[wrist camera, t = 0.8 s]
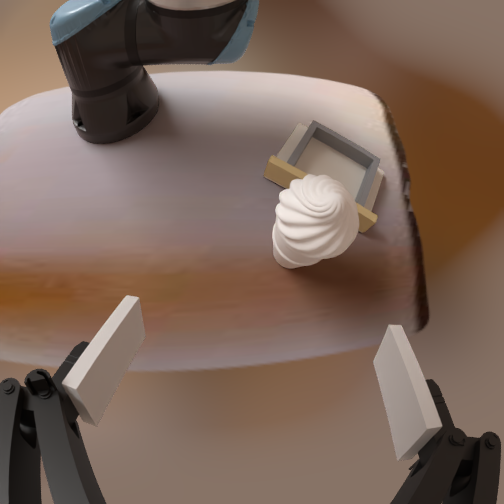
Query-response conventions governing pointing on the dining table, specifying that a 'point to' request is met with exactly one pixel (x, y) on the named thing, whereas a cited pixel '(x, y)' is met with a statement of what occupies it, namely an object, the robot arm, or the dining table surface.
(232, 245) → the dining table surface
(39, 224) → the dining table surface
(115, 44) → the robot arm
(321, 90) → the dining table surface
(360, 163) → the grey shallow tray
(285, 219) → the soft serve ice cream cone
